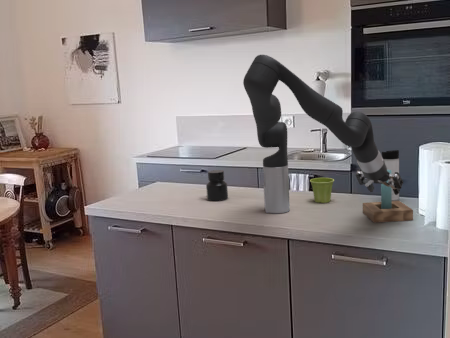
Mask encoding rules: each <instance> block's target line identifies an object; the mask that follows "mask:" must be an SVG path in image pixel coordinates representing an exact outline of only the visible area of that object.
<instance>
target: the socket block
mask: <svg viewBox="0 0 450 338" xmlns="http://www.w3.org/2000/svg"><path fill="white" fill-rule="evenodd" d="M362 213H363V214H364V215H365V216H366V217H367V218H368V219H369V220H370V221H372V222H373V223H388V222H389V223H390V222H405V221H407V222H408V221H414V209H412V208H411V207H410V206H408V205H406V204H405V203H404V202H402V201H400V200H399V201H392V209H381V201H371V202H370V201H369V202H362Z"/></svg>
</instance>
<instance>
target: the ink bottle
mask: <svg viewBox="0 0 450 338" xmlns="http://www.w3.org/2000/svg"><path fill="white" fill-rule="evenodd" d="M207 178H208V179H207V180H208V182H207V183H206V188H205V189H206V198H207V200H208V201H210V200H212V202H218V201H219V200H221V201H224V200H227V199H229V193H228V183H227V182H226V181H225V172H224V170H221V169H216V170H209V171H207ZM219 202H220V201H219Z"/></svg>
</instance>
